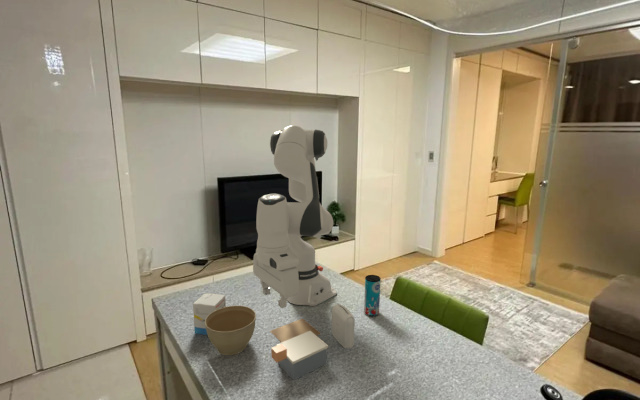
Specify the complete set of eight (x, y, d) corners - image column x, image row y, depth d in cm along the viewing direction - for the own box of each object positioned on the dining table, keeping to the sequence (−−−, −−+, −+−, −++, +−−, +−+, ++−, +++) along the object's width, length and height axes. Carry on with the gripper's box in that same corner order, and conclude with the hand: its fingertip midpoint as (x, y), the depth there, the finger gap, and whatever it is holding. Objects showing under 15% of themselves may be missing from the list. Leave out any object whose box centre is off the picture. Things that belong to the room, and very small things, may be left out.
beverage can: (370, 318, 129) (372, 282, 126) (360, 311, 134) (362, 276, 131) (382, 314, 132) (383, 278, 129) (372, 307, 137) (373, 273, 134)
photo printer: (330, 334, 118) (330, 302, 116) (340, 331, 120) (341, 299, 118) (344, 351, 109) (345, 316, 107) (355, 347, 111) (356, 313, 109)
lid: (310, 335, 109) (310, 324, 108) (328, 350, 102) (328, 338, 101) (266, 354, 100) (265, 342, 99) (282, 372, 92) (282, 359, 92)
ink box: (216, 336, 117) (214, 306, 114) (194, 333, 118) (191, 303, 116) (227, 323, 125) (225, 294, 123) (206, 320, 127) (204, 292, 124)
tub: (309, 349, 110) (309, 333, 109) (326, 365, 103) (326, 347, 102) (277, 364, 103) (277, 347, 102) (293, 381, 96) (293, 363, 94)
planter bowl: (264, 336, 117) (263, 307, 115) (244, 366, 102) (243, 334, 100) (221, 330, 120) (220, 302, 118) (196, 359, 105) (194, 328, 103)
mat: (302, 319, 127) (302, 318, 127) (321, 334, 118) (321, 333, 118) (269, 332, 119) (269, 331, 119) (287, 349, 110) (287, 348, 110)
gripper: (247, 245, 99) (248, 289, 101) (281, 266, 82) (282, 318, 85) (266, 242, 102) (267, 284, 105) (302, 261, 86) (302, 311, 89)
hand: (274, 300), depth 95 cm, fingers open, 8 cm apart
